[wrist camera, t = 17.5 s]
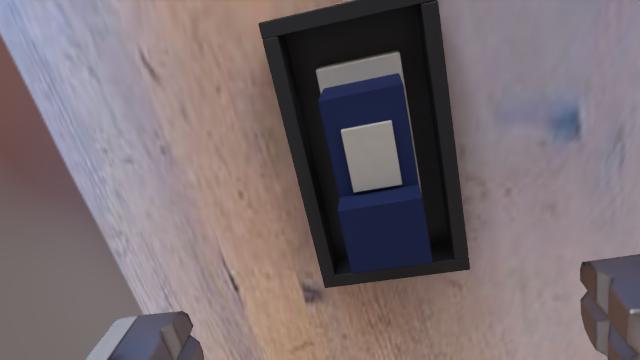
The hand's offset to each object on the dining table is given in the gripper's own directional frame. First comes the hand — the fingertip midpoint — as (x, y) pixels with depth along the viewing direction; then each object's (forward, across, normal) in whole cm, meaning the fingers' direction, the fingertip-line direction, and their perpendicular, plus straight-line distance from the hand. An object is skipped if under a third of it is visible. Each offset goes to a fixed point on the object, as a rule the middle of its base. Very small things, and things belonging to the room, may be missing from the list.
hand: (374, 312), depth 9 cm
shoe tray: (+18, 0, +2) cm, 18 cm away
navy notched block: (+17, 0, +2) cm, 17 cm away
